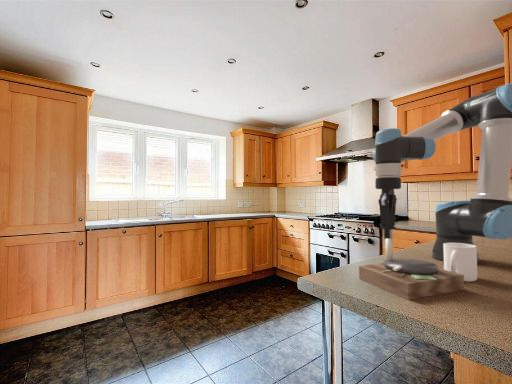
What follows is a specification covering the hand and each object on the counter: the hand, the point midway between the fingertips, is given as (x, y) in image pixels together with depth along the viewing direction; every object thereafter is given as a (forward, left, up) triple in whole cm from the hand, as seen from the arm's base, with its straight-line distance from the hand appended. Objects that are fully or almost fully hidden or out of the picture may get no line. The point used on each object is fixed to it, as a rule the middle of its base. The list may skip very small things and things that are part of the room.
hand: (387, 248), depth 87 cm
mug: (-16, +11, -9) cm, 22 cm away
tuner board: (+2, +9, -9) cm, 13 cm away
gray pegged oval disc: (+1, +9, -4) cm, 10 cm away
